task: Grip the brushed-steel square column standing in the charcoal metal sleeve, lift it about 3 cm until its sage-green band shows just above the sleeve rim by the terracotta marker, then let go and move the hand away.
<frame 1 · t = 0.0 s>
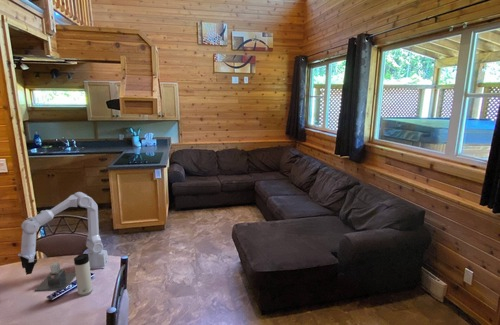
hand: (27, 270, 149), 11 cm above the table, tool pointing down, fingers open, 7 cm apart
stand base: (57, 282, 157), on the table
column: (55, 272, 156), point 6 cm above the table, slide at 0.0 cm
travel mug: (85, 292, 150), on the table
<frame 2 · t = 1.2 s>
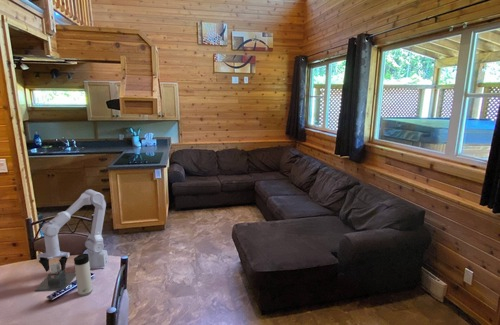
hand: (55, 270, 156), 7 cm above the table, tool pointing down, fingers open, 7 cm apart
nothing on the table moved.
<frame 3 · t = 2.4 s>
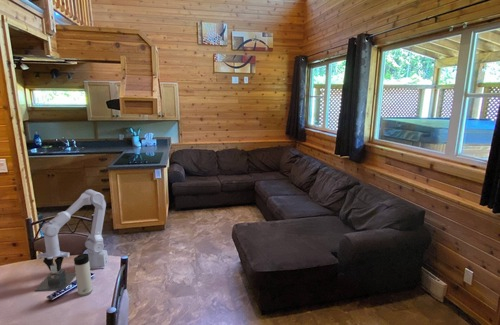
hand: (55, 270, 156), 7 cm above the table, tool pointing down, fingers closed on column, 3 cm apart
column: (55, 272, 156), point 6 cm above the table, slide at -0.1 cm, touching gripper
everything else where it was.
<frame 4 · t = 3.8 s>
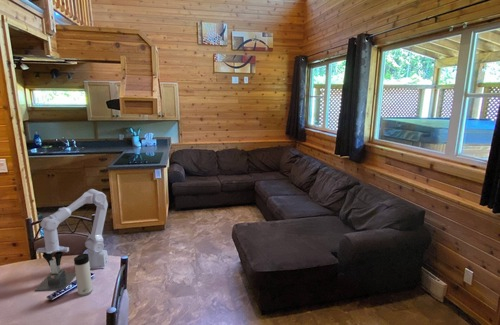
hand: (54, 264, 155), 10 cm above the table, tool pointing down, fingers closed on column, 3 cm apart
column: (55, 267, 156), point 8 cm above the table, slide at 2.7 cm, touching gripper
everything else where it was.
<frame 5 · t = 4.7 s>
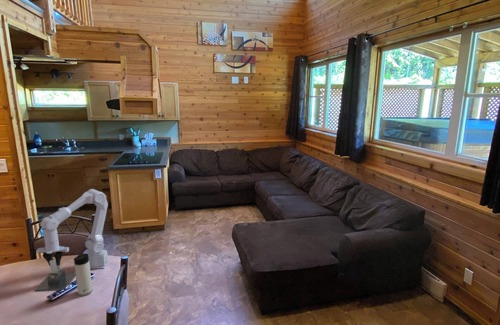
hand: (54, 264, 155), 10 cm above the table, tool pointing down, fingers closed on column, 3 cm apart
column: (55, 267, 156), point 8 cm above the table, slide at 2.7 cm, touching gripper
everything else where it was.
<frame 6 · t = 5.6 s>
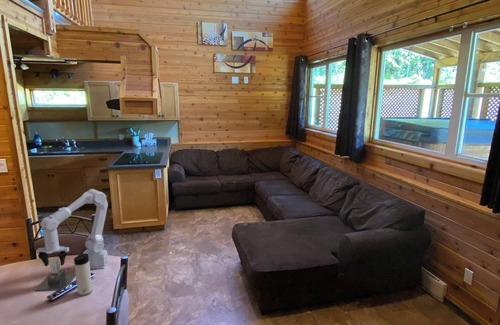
hand: (54, 264, 155), 10 cm above the table, tool pointing down, fingers open, 7 cm apart
column: (55, 267, 156), point 8 cm above the table, slide at 2.7 cm
everything else where it was.
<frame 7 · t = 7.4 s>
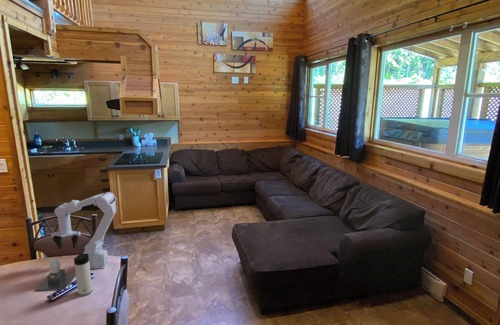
hand: (67, 247, 172), 10 cm above the table, tool pointing down, fingers open, 7 cm apart
nothing on the table moved.
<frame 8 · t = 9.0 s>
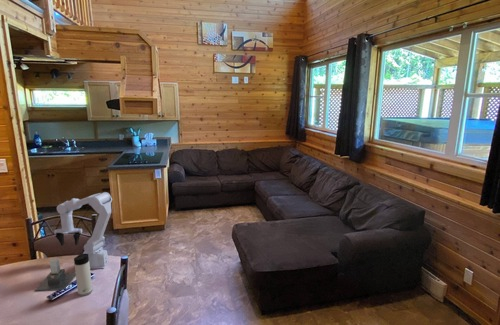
hand: (69, 244, 175), 10 cm above the table, tool pointing down, fingers open, 7 cm apart
nothing on the table moved.
at the end: column slide at 2.7 cm; the gripper is holding nothing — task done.
